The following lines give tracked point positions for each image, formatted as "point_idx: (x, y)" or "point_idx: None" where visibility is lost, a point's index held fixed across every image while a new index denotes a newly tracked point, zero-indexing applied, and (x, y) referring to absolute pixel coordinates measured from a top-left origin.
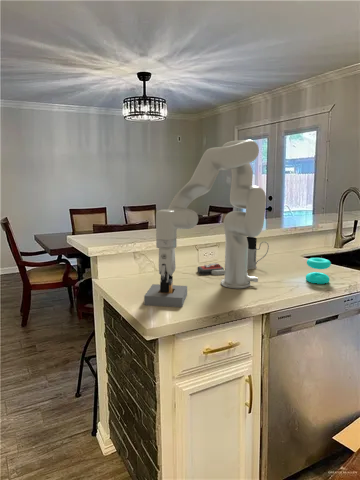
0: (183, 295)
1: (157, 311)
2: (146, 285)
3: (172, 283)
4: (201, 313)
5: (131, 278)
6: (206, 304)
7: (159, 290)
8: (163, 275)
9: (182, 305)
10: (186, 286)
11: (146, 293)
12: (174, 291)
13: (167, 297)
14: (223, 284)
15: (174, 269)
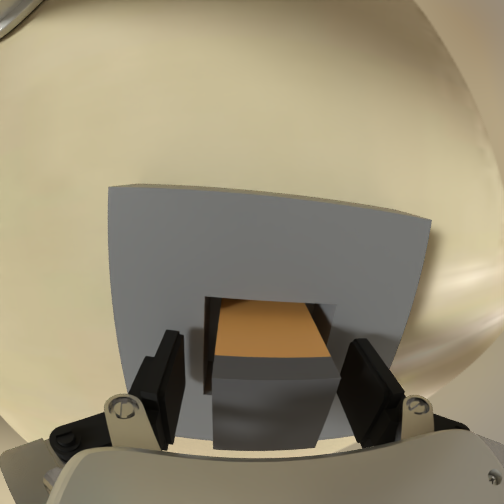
0: (375, 209)
1: (426, 331)
2: (66, 407)
3: (224, 348)
4: (457, 113)
5: (33, 434)
6: (339, 54)
7: None
8: (501, 449)
9: (392, 209)
10: (123, 192)
11: (319, 438)
12: (284, 295)
13: (404, 325)
14: (24, 11)
15: (247, 485)
